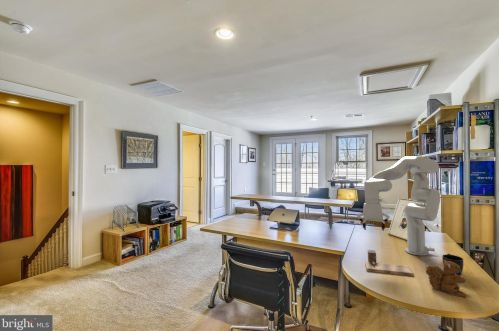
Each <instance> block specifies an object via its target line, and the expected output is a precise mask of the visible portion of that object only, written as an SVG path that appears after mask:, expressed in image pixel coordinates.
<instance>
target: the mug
mask: <svg viewBox="0 0 499 331" xmlns="http://www.w3.org/2000/svg"><path fill="white" fill-rule="evenodd" d="M441 258H442V265H443V264H444V262H443V260H446V261H452V262H454V263H456V264H458V265H459V266H460V270H461V272H462V273H463V271H464V258H463V257H461V256H459V255H455V254H451V253H447V254H443V255H442V257H441ZM461 272H459V273H456V275H459V276H461V277H462V274H461Z"/></svg>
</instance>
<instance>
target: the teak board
mask: <svg viewBox="0 0 499 331" xmlns="http://www.w3.org/2000/svg"><path fill="white" fill-rule="evenodd" d="M364 263H365V264H364V265H365V266H364V267H365V269H366V272H372V273H380V272H384V273H383V274H390V273H392V274H391V275H399V276H409V277H414V276H415V273H414V271H413V270H412V268H411V267H410V265H401V264H400V265H399V264H390V263H389V264H388V263H382V262H380V263H379V262H376V263H375V265H373V264H372V263H371V262H368V261H365V262H364Z"/></svg>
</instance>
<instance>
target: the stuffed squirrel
mask: <svg viewBox="0 0 499 331" xmlns="http://www.w3.org/2000/svg"><path fill="white" fill-rule="evenodd" d="M443 262H444V264H443ZM442 266H443V270H442V269H441V268H440V266H437V265H428V266H427V267H426V266H425V269H426V270H425V273H426V275H427V277H428V281H429V284H430V286H431V287H432V288H433V289H435V290H436V291H444V292H445V293H447V294H450V295H453V296H455V297H456V296H457V297H462V298H466V297H467V294H466V293H465V292H464V291H462V290H460V285H459V284H464V283H466V280H467V279H466V278H465V277H463V276H462V274H463V271H462V272H461V270H460V266H459V265H458V264H456V263H454V262H452V261H446V260H442ZM459 272H461V276H459V275H456V273H459Z"/></svg>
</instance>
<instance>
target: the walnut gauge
mask: <svg viewBox="0 0 499 331" xmlns="http://www.w3.org/2000/svg"><path fill="white" fill-rule="evenodd" d="M367 262H371V263H372V264H373V265H375V263H377V252H376V250H375V249H374V250H372V249H367Z"/></svg>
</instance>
